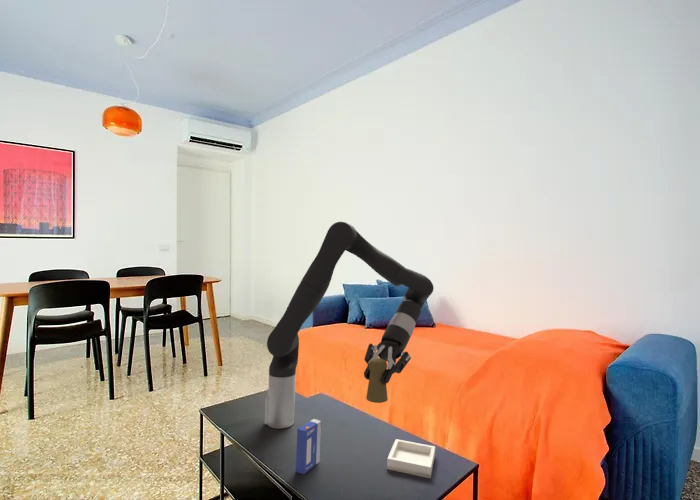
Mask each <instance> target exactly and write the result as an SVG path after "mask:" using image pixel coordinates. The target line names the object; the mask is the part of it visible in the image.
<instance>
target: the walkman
mask: <svg viewBox="0 0 700 500" xmlns="http://www.w3.org/2000/svg"><path fill="white" fill-rule="evenodd" d="M321 426H322V421H321V420H319V419H316V418H313V419H311V420H309V421H308V422H306V423H304V424H303V425H302V426H299V427H298V428H297V430H296V431H297V432H296V451H295V452H296V453H295V455H296V458H295V460H296V461H295V472H296V473H298V474H301V475H306V474H307V472H309V471H311V469H313V468H314V467H316V465H318V464H319V463H320V459H321V458H320V453H321V434H322V433H321V431H322V430H321V428H322V427H321Z"/></svg>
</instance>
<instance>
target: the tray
mask: <svg viewBox="0 0 700 500" xmlns="http://www.w3.org/2000/svg"><path fill="white" fill-rule="evenodd" d="M435 458H436V446H435V445H430V444H423V443H418V442H413V441H408V440H403V439H397V438H395V440H394V442H393V444H392V447H391V449H390V452H389V454H388V457H387V459H386V460H387V461H386V469H387V470H390V471H393V472H399V473H403V474H407V475H412V476H417V477H422V478H427V479H431V478H432V474H433V468H434V465H435V463H434V462H435V460H436V459H435Z"/></svg>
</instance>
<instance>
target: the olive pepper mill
mask: <svg viewBox="0 0 700 500" xmlns="http://www.w3.org/2000/svg"><path fill="white" fill-rule="evenodd" d="M369 369H370V377H369V380H368V383H367V390H366V396H365V399H366V400H367V401H368V402H370V403H375V404H376V403H377V404H382V403H386V402H387V401H388V399H389V398H388V391H387V390H388V389H387V384H386V385H384V384H382V382H381V378H382V376H383V374H384V372H385V370H386V369H388V362H387V361H385V360H383V359H379V357H378V358H375V359H371V360H370V361H369Z"/></svg>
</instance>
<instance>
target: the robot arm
mask: <svg viewBox="0 0 700 500" xmlns="http://www.w3.org/2000/svg"><path fill="white" fill-rule="evenodd" d="M346 251H347V252H348V253H350V254H352V255H354V256H356V257H357V258H359V259H361V261H363V262H365V264H366V265H367V266H369V267H370V268H371V269H372V270H373V271H374V272H375V273H377V274H378V275H379V276H380V277H381V278H383V279H385V280H386V281H387V282H388V283H390V284H392V286H394V287H399V286H401V285H402V286H404V287H407V290H406V291H405V293H404V296H403V298H402V301H401V303H400V304H399V306H398V307H397V310H396V312H395V313H394V314H393V316H392V317H391V319H390V321H389V323H388V325H387V326H386V329H385V330H384V332H383V335H381V340H380V342H379V343H378V344H375V345H374V344H373V343H369V344H368V346H367V349H366V352H365V356H364V361H365V363H366V364H367V366H366V368H365V370H364V371H363V376H364V379H366V380H368V381H369V377H370V369H369V361H370V360H371V359H375V358H379V359H383V360H385V361H386V363H387V369H386V370H385V372H384V374H383V376H382V378H381V382H382V384H384V385H386V386H387V384H388V383H389V382H390V381H391V379H392V375H394V374H395V373H397V374H399V375H400V374H401V373H402V372H403V370H404V369H405V368H406V366H407V364H408V363H409V362H410V360H411V359H412V357H411V356H410V354H409V352H408V351H406V348H407V346H408V343H409V341H410V339H411V337H412V335H413V333H414V330H415V327H416V324H417V323H418V320H419V319H420V316H421V314H422V308H423V305H424V304H425V302H426V301H427V300H428V298H429V297H430V296H431V295H432V294H433V292H434V288H435V287H434V284H433V283H432V281H431V279H430V278H428V277H427V276H425V275H424V274H422V273H420V272H417V271H415V270H413V269H409V268H407V267H405V266H404V265H402V264H401V263H400V262H399V261H397V260H395V259H394V258H393V257H391V256H390V255H388V254H386V253H385V252H383V251H382V250H380V249H378V248H377V247H376V246H374V245H372V244H371V243H370V242H369V241H368V240H367V239H366V238H364V237H363V235H361V234H360V232H359V231H358V230H356V228H355V227H354V226H353V225H352V224H351V223H348V222H346V221H342V220H341V221H337V222H334V223H333V224H332V225H330V227H329V228H328V229H327V232H326V235H325V237H324V239H323V241H322V244H321V245H320V248H319V251H318V253H317V254H316V257H315V258H314V259H313V261H312V262H311V264H310V265H309V267H308V268H307V270H306V272H305V274H304V276H303V277H302V278H301V280H300V283H299V284H298V286H297V288H296V290H295V291H294V294H292V295H293V296H292V297H291V298H290V301H289V304H288V305H287V307H286V310H285V312H284V313H283V315H282V316H281V318H280V320H279V321H278V322H277V324H276V325H275V326H274V328H273V329H272V331H271V332H270V333H269V335H268V338H267V340H266V341H267V342H266V346H267V347H266V348H267V350H268V352H269V353H270V355H272V359H271V362H270V364H269V367H268V388H267V390H268V391H267V392H268V393H267V395H265V398H264V399H265V404H264V425H267V426H268V427H269V428H272V429H280V430H281V429H286V428H287V429H288V428H290V427H292V426H293V424H294V423H295V404H296V403H295V400H296V376H297V375H296V373H297V372H296V371H297V366H298V362H299V349H300V348H299V347H300V337H299V332H300V330H301V328H302V326H303V325H304V323H305V322H306V321H307V319H308V318H309V317H310V316H311V315H312V313H313V312H314V311H315V309H316V308H317V307H318V306H319V304H320V302H321V301H322V300H323V298H324V296H325V294H326V292H327V291H328V289H329V286H330V283H331V280H332V279H333V275H334V271H335V268H336V266H337V264H338V263H339V261H340V259H341V257H342V256H343V254H344V253H345V252H346ZM397 360H398V361H397Z"/></svg>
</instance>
